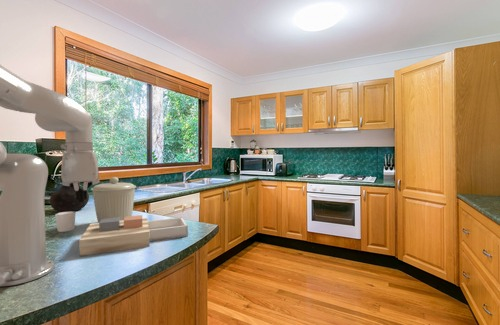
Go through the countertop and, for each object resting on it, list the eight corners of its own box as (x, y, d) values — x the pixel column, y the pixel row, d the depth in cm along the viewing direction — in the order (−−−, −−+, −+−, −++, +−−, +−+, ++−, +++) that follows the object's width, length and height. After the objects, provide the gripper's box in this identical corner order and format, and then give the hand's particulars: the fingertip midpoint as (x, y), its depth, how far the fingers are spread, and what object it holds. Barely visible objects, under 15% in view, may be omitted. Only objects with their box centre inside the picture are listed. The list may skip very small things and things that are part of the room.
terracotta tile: (142, 226, 91) (142, 218, 91) (124, 229, 89) (123, 220, 89) (142, 222, 97) (142, 215, 97) (124, 224, 94) (124, 216, 94)
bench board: (149, 246, 86) (149, 231, 86) (79, 256, 78) (79, 240, 78) (147, 229, 104) (147, 217, 104) (90, 236, 96) (90, 223, 96)
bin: (187, 236, 96) (187, 225, 96) (149, 241, 91) (149, 230, 90) (181, 226, 109) (181, 217, 109) (148, 230, 103) (148, 220, 103)
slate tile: (119, 229, 88) (119, 221, 88) (99, 231, 86) (99, 223, 86) (120, 225, 94) (120, 217, 94) (101, 227, 91) (101, 218, 91)
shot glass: (65, 232, 101) (64, 215, 101) (51, 231, 103) (50, 214, 102) (80, 227, 108) (79, 211, 108) (66, 226, 109) (66, 210, 109)
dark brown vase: (51, 216, 128) (49, 161, 127) (48, 210, 141) (46, 160, 140) (92, 210, 140) (90, 160, 139) (86, 205, 153) (84, 159, 152)
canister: (96, 220, 120) (95, 176, 119) (138, 216, 126) (137, 174, 125) (87, 231, 103) (85, 179, 102) (135, 226, 109) (134, 178, 108)
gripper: (49, 148, 79) (52, 206, 80) (103, 147, 85) (105, 201, 86) (56, 148, 86) (58, 201, 87) (106, 148, 92) (108, 197, 93)
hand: (82, 201), depth 86 cm, fingers closed
